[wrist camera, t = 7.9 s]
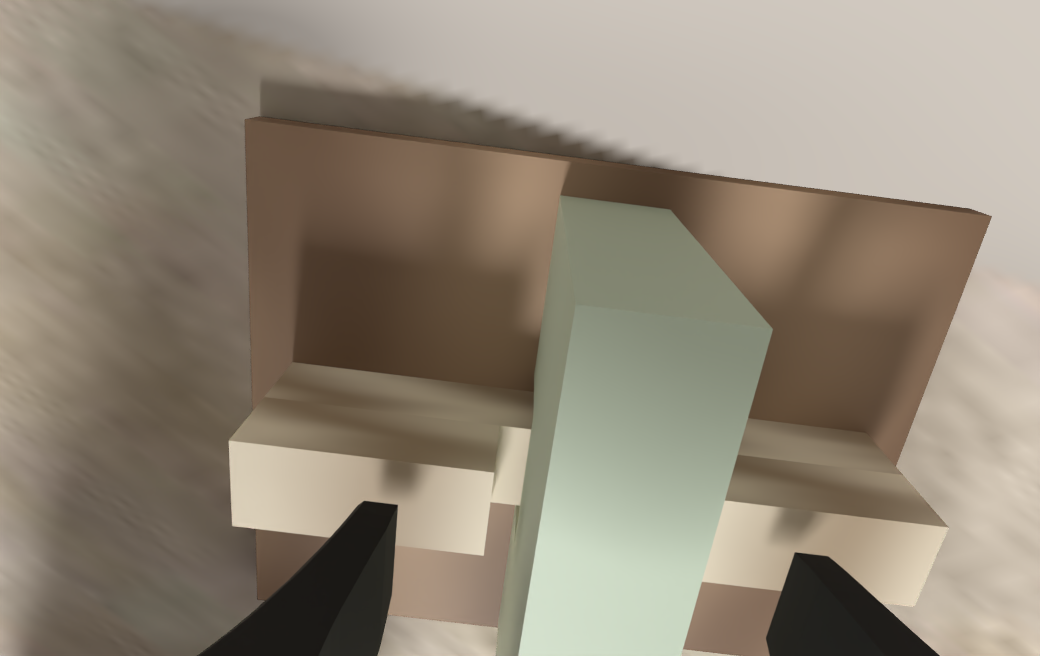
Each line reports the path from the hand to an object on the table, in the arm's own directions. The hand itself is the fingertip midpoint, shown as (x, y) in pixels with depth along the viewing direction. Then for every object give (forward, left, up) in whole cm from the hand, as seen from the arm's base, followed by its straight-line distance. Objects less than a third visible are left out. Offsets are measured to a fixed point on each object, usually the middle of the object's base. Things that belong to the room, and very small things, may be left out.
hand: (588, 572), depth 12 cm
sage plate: (0, 0, -5) cm, 5 cm away
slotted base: (0, 0, -6) cm, 6 cm away
